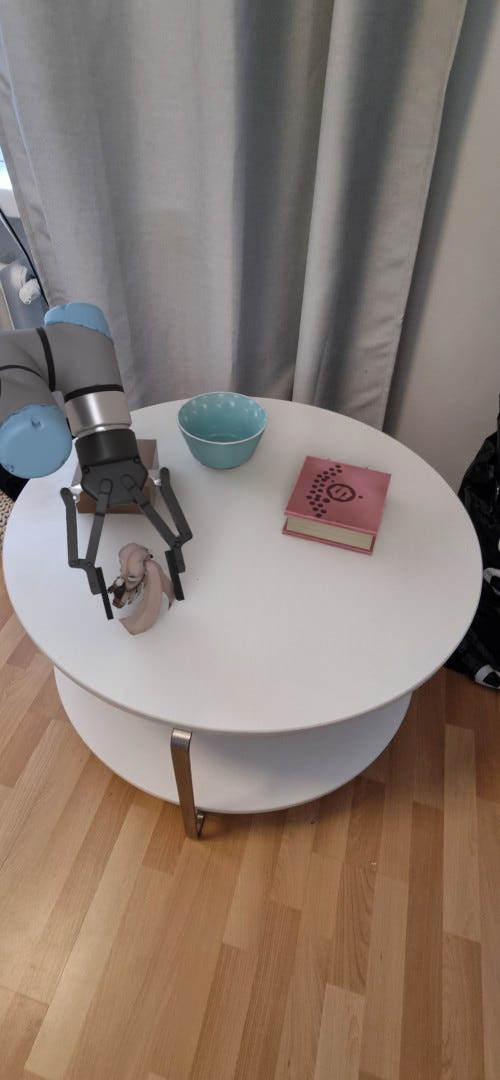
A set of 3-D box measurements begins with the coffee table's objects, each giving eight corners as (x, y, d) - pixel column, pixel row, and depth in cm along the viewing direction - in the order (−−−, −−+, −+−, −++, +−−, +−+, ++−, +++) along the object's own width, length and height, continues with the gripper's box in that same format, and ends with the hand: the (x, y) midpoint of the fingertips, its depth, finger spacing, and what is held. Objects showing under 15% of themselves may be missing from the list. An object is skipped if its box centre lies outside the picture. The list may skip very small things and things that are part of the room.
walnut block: (77, 513, 94) (70, 485, 90) (90, 465, 103) (84, 437, 98) (152, 514, 95) (149, 486, 90) (159, 466, 103) (156, 439, 99)
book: (386, 493, 100) (392, 470, 97) (371, 556, 90) (377, 533, 86) (304, 474, 103) (307, 452, 99) (281, 533, 93) (284, 510, 89)
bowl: (186, 424, 112) (184, 387, 106) (268, 431, 111) (270, 393, 105) (171, 478, 101) (168, 439, 95) (262, 485, 100) (264, 447, 94)
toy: (135, 569, 85) (151, 512, 73) (179, 608, 84) (202, 556, 71) (89, 609, 79) (98, 555, 67) (135, 651, 78) (152, 603, 66)
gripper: (180, 424, 80) (217, 585, 81) (18, 454, 74) (62, 626, 75) (190, 413, 72) (231, 590, 74) (12, 444, 67) (60, 636, 68)
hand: (145, 608), depth 75 cm, fingers closed on toy, 8 cm apart
